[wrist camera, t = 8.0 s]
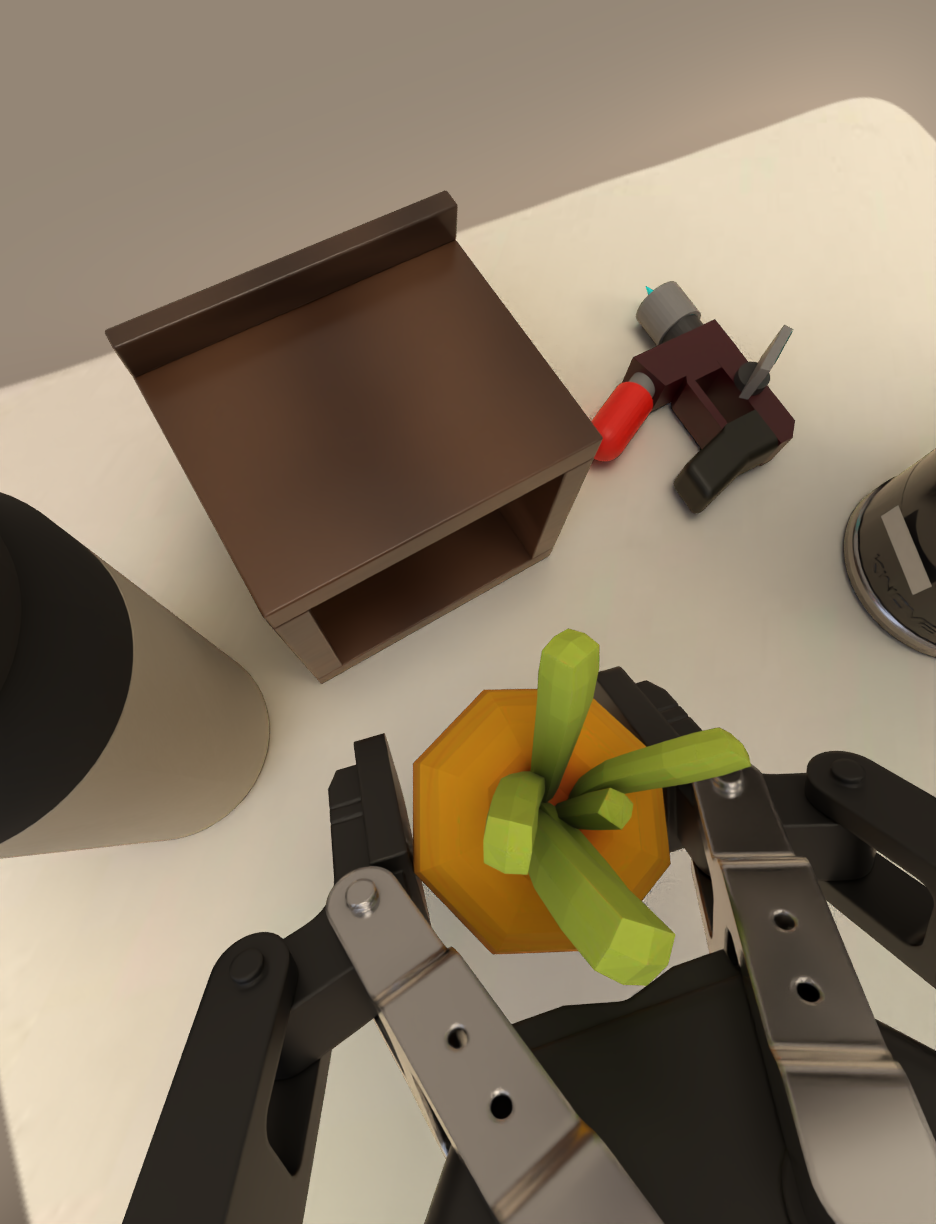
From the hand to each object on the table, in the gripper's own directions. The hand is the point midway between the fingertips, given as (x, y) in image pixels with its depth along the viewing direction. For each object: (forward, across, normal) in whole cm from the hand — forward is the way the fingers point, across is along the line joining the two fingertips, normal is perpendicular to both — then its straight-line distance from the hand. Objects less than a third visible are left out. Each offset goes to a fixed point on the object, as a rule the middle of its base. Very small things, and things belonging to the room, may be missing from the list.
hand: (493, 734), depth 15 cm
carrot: (+4, 0, +6) cm, 8 cm away
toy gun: (+19, -14, -1) cm, 24 cm away
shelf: (+17, +1, +1) cm, 17 cm away
